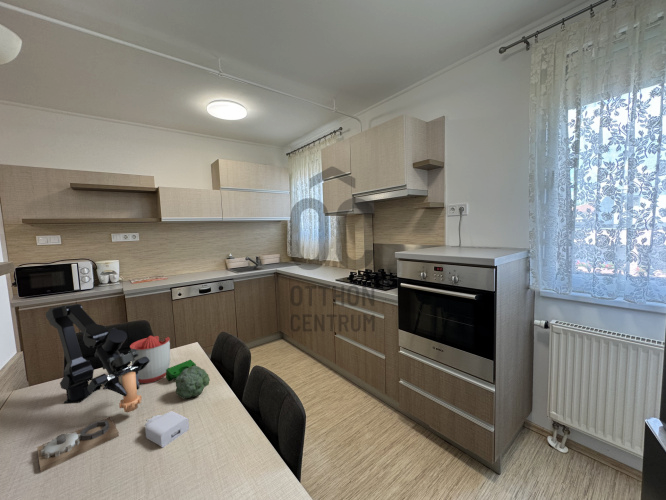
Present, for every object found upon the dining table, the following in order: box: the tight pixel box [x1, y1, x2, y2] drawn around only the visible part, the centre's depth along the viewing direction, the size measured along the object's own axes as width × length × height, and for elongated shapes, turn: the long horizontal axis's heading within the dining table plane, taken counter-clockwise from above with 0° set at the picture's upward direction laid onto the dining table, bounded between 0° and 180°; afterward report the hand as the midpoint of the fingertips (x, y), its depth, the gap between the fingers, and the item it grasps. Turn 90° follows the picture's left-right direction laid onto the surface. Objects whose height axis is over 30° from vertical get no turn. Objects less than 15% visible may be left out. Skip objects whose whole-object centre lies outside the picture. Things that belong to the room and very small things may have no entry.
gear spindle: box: [118, 372, 143, 413], centre depth 101 cm, size 7×7×13 cm
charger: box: [144, 410, 190, 448], centre depth 94 cm, size 5×9×15 cm
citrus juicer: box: [129, 335, 171, 384], centre depth 131 cm, size 16×17×20 cm
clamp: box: [165, 359, 197, 382], centre depth 129 cm, size 12×6×9 cm, turn 139°
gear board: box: [36, 416, 120, 473], centre depth 89 cm, size 18×12×5 cm, turn 140°
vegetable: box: [175, 364, 211, 399], centre depth 117 cm, size 12×13×15 cm
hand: (132, 392), depth 101 cm, fingers closed on gear spindle, 4 cm apart
